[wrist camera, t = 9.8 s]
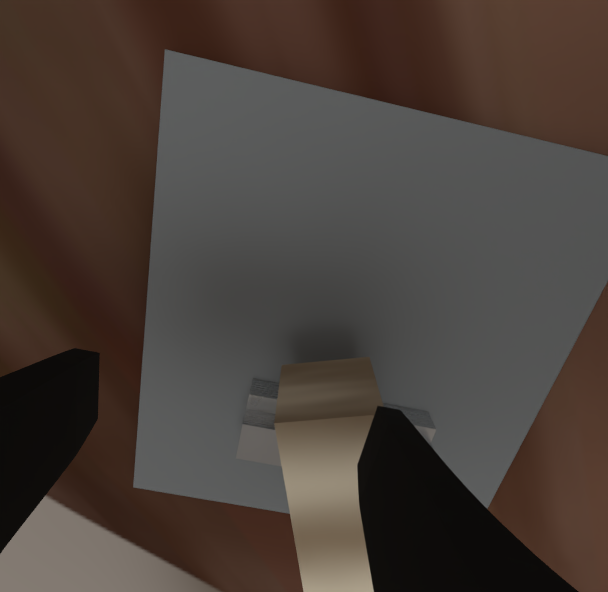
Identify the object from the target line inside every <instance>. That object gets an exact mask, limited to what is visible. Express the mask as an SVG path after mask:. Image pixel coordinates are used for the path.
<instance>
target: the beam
mask: <svg viewBox="0 0 608 592" xmlns="http://www.w3.org/2000/svg"><path fill="white" fill-rule="evenodd" d="M377 406H382V407H384V406H383V403H382V399H381V396H380V392H379V389H378V385H377V382H376V378H375V375H374V371H373V368H372V364H371V361H370V357H362V358H351V359H340V360H329V361H319V362H308V363H297V364H287V365H282V366H281V374H280V382H279V390H278V398H277V405H276V413H275V421H274V425H275V431H276V437H277V442H278V448H279V454H280V459H281V465H282V471H283V477H284V482H285V488H286V494H287V499H288V505H289V511H290V516H291V522H292V528H293V533H294V539H295V545H296V551H297V556H298V562H299V568H300V573H301V579H302V585H303V590H304V592H374V590H373V584H372V578H371V573H370V567H369V561H368V555H367V549H366V543H365V538H364V532H363V525H362V519H361V513H360V507H359V494H358V472H357V464H358V461H359V458H360V456H361V453H362V450H363V447H364V444H365V441H366V438H367V435H368V432H369V429H370V426H371V423H372V421H373V418H374V415H375V412H376V409H377Z"/></svg>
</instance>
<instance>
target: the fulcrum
mask: <svg viewBox="0 0 608 592" xmlns="http://www.w3.org/2000/svg"><path fill="white" fill-rule="evenodd" d="M278 390H279V383H277V382H272V381H267V380H261V379H256V378H253V380H252V384H251V388H250V393H249V397H248V402H247V407H246V412H245V416H244V420H243V424H242V429H241V435H240V440H239V445H238V450H237V455H236V459H242V460H248V461H254V462H259V463H265V464H271V465H276V466H282V465H281V459H280V454H279V448H278V442H277V437H276V431H275V425H274V421H275V413H276V405H277V398H278ZM383 406H384V407H388V408H393V409H398V410H401V411H402V412H403V414H404V415H405V416H406V417H407V418H408V419H409V420H410V422H411V423H412V424H413V425H414V426H415V428H416V429H417V430H418V431H419V432H420V434H421V435H422V436H423V437H424V439H425V440H426V441H427V442H428V443H429V445H430V446H431V447H432V444H431V441H432V439H433V437H434V434H435V432H436V427H435V425H434V423H433V421H432V418H431V416H430V414H429V412H428V411H424V410H419V409H414V408H409V407H403V406H398V405H393V404H388V403H383ZM432 448H433V447H432Z"/></svg>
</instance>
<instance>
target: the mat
mask: <svg viewBox="0 0 608 592" xmlns="http://www.w3.org/2000/svg"><path fill="white" fill-rule="evenodd" d="M607 281H608V156H605V155H601V154H597V153H593V152H589V151H584V150H580V149H576V148H572V147H568V146H564V145H560V144H555V143H551V142H547V141H543V140H539V139H535V138H531V137H526V136H522V135H518V134H514V133H510V132H506V131H502V130H497V129H493V128H489V127H485V126H481V125H477V124H472V123H468V122H464V121H460V120H456V119H452V118H448V117H443V116H439V115H435V114H431V113H427V112H423V111H419V110H414V109H410V108H406V107H402V106H398V105H394V104H390V103H385V102H381V101H377V100H373V99H369V98H365V97H361V96H356V95H352V94H348V93H344V92H340V91H336V90H331V89H327V88H323V87H319V86H315V85H311V84H307V83H302V82H298V81H294V80H290V79H286V78H282V77H278V76H273V75H269V74H265V73H261V72H257V71H253V70H249V69H244V68H240V67H236V66H232V65H228V64H224V63H219V62H215V61H211V60H207V59H203V58H199V57H195V56H190V55H186V54H182V53H178V52H174V51H170V50H166V49H165V57H164V71H163V85H162V98H161V112H160V126H159V140H158V154H157V168H156V181H155V195H154V209H153V223H152V237H151V251H150V264H149V278H148V292H147V306H146V320H145V334H144V347H143V361H142V375H141V389H140V403H139V416H138V430H137V444H136V458H135V472H134V486H133V487H135V488H141V489H147V490H153V491H159V492H165V493H171V494H176V495H182V496H188V497H194V498H200V499H206V500H212V501H218V502H224V503H230V504H236V505H242V506H248V507H254V508H260V509H265V510H271V511H277V512H283V513H289V514H290V511H289V505H288V499H287V494H286V488H285V482H284V477H283V471H282V466H276V465H271V464H265V463H259V462H254V461H248V460H242V459H236V455H237V450H238V445H239V440H240V435H241V429H242V424H243V420H244V416H245V412H246V407H247V402H248V397H249V393H250V388H251V384H252V380H253V378H256V379H261V380H267V381H272V382H277V383H279V382H280V374H281V366H282V365H287V364H297V363H308V362H319V361H329V360H340V359H351V358H362V357H370V361H371V364H372V368H373V371H374V375H375V378H376V382H377V385H378V389H379V392H380V396H381V399H382V403H388V404H393V405H398V406H403V407H409V408H414V409H419V410H424V411H428V412H429V414H430V416H431V418H432V421H433V423H434V425H435V427H436V432H435V434H434V437H433V439H432V441H431V444H432V447H433V449H434V451H435V452H436V453H437V454H438V455H439V457H440V458H441V459H442V460H443V461H444V462H445V464H446V465H447V466H448V467H449V468H450V469H451V470H452V472H453V473H454V474H455V475H456V476H457V477H458V478H459V480H460V481H461V482H462V483H463V484H464V485H465V486H466V487H467V488H468V489H469V490H470V492H471V493H472V494H473V495H474V496H475V497H476V498H477V499H478V500H479V501H480V502H481V503H482V504H483V505H484V506H485V507H486V508H488V506H489V504H490V502H491V501H492V499H493V497H494V495H495V493H496V491H497V489H498V487H499V485H500V484H501V482H502V480H503V478H504V476H505V474H506V472H507V470H508V468H509V467H510V465H511V463H512V461H513V459H514V457H515V455H516V453H517V451H518V450H519V448H520V446H521V444H522V442H523V440H524V438H525V436H526V434H527V432H528V431H529V429H530V427H531V425H532V423H533V421H534V419H535V417H536V415H537V414H538V412H539V410H540V408H541V406H542V404H543V402H544V400H545V398H546V397H547V395H548V393H549V391H550V389H551V387H552V385H553V383H554V381H555V380H556V378H557V376H558V374H559V372H560V370H561V368H562V366H563V364H564V362H565V361H566V359H567V357H568V355H569V353H570V351H571V349H572V347H573V345H574V344H575V342H576V340H577V338H578V336H579V334H580V332H581V330H582V328H583V327H584V325H585V323H586V321H587V319H588V317H589V315H590V313H591V311H592V310H593V308H594V306H595V304H596V302H597V300H598V298H599V296H600V294H601V293H602V291H603V289H604V287H605V285H606V283H607Z"/></svg>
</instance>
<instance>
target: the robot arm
mask: <svg viewBox="0 0 608 592" xmlns="http://www.w3.org/2000/svg"><path fill="white" fill-rule="evenodd" d="M98 390H99V353H97V352H92V351H87V350H81V349H76V348H74V349H71V350H68V351H65V352H62V353H60V354H57V355H55V356H52V357H49V358H47V359H44V360H42V361H40V362H37V363H35V364H32V365H30V366H27V367H25V368H22V369H20V370H17V371H15V372H12V373H10V374H7V375H5V376H2V377H0V553H1V552H2V550H3V549H4V548H5V546H6V545H7V544H8V542H9V541H10V540H11V539H12V537H13V536H14V535H15V533H16V532H17V531H18V529H19V528H20V527H21V526H22V524H23V523H24V522H25V521H26V519H27V518H28V517H29V515H30V514H31V513H32V512H33V510H34V509H35V508H36V506H37V505H38V504H39V503H40V501H41V500H42V499H43V498H44V496H45V495H46V494H47V492H48V491H49V490H50V489H51V487H52V486H53V485H54V483H55V482H56V481H57V480H58V478H59V477H60V476H61V474H62V473H63V472H64V470H65V469H66V468H67V467H68V465H69V464H70V463H71V461H72V460H73V459H74V457H75V456H76V454H77V453H78V451H79V450H80V448H81V446H82V445H83V443H84V441H85V440H86V438H87V436H88V435H89V433H90V431H91V430H92V428H93V426H94V424H95V423H96V421H97V419H98ZM357 472H358V494H359V507H360V513H361V519H362V525H363V532H364V538H365V543H366V549H367V555H368V561H369V567H370V573H371V578H372V584H373V590H374V592H578V591H577V590H576V589H574V588H573V587H572V586H571V585H570V584H568V583H567V582H566V581H565V580H564V579H562V578H561V577H560V576H559V575H558V574H556V573H555V572H554V571H553V570H552V569H551V568H549V567H548V566H547V565H546V564H545V563H544V562H543V561H541V560H540V559H539V558H538V557H537V556H536V555H535V554H533V553H532V552H531V551H530V550H529V549H528V548H527V547H526V546H525V545H524V544H523V543H522V542H521V541H520V540H518V539H517V538H516V537H515V536H514V535H513V534H512V533H511V532H510V531H509V530H508V529H507V528H506V527H505V526H504V525H502V524H501V523H500V522H499V521H498V520H497V519H496V518H495V517H494V516H493V515H492V514H491V513H490V512H489V511H488V510H487V508H486V507H485V506H484V505H483V504H482V503H481V502H480V501H479V500H478V499H477V498H476V497H475V496H474V495H473V494H472V493H471V492H470V490H469V489H468V488H467V487H466V486H465V485H464V484H463V483H462V482H461V481H460V480H459V478H458V477H457V476H456V475H455V474H454V473H453V472H452V470H451V469H450V468H449V467H448V466H447V465H446V464H445V462H444V461H443V460H442V459H441V458H440V457H439V455H438V454H437V453H436V452H435V451H434V449H433V448H432V447H431V446H430V445H429V443H428V442H427V441H426V440H425V439H424V437H423V436H422V435H421V434H420V432H419V431H418V430H417V429H416V428H415V426H414V425H413V424H412V423H411V422H410V420H409V419H408V418H407V417H406V416H405V415H404V414H403V412H402V411H401V410H398V409H393V408H388V407H382V406H377V409H376V412H375V415H374V418H373V421H372V423H371V426H370V429H369V432H368V435H367V438H366V441H365V444H364V447H363V450H362V453H361V456H360V458H359V461H358V464H357Z"/></svg>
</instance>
